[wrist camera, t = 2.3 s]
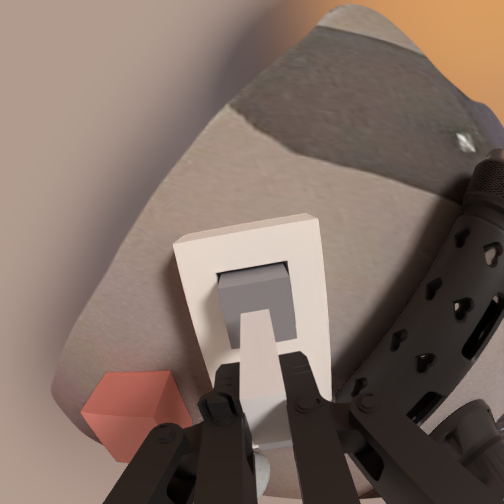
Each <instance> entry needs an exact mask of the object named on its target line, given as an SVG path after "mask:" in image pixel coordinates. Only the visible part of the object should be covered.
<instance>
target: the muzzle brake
mask: <svg viewBox="0 0 504 504" xmlns="http://www.w3.org/2000/svg"><path fill="white" fill-rule="evenodd" d="M463 210H464V215H461V216H459V217H458V218H457V219H456V220H455V222H454V224H453V226H452V229H451V231H450V233H449V234H448V236H447V238H446V240H445V242H444V244H443V246H442V247H441V249H440V251H439V253H438V255H437V256H436V258H435V260H434V262H433V263H432V265H431V267H430V269H429V270H428V272H427V274H426V276H425V277H424V279H423V280H422V282H421V284H420V285H419V287H418V288H417V290H416V291H415V293H414V294H413V296H412V297H411V299H410V300H409V302H408V303H407V305H406V306H405V308H404V309H403V311H402V312H401V314H400V315H399V316H398V318H397V319H396V321H395V322H394V324H393V325H392V326H391V328H390V329H389V330H388V332H387V333H386V334H385V336H384V337H383V338H382V339H381V341H380V342H379V343H378V345H377V346H376V347H375V348H374V350H373V351H372V352H371V353H370V355H369V356H368V357H367V358H366V360H365V361H364V362H363V363H362V364H361V366H360V367H359V368H358V369H357V370H356V371H355V373H354V374H353V375H352V376H351V377H350V378H349V379H348V380H347V382H346V383H345V384H344V385H343V386H342V387H341V388H340V389H339V390H338V392H337V393H336V396H335V399H336V403H350V402H351V401H352V399H353V398H354V397H355V396H357V395H358V394H361V393H364V392H377V393H380V394H382V395H384V396H385V397H386V398H387V399H388V400H390V401H391V402H392V403H393V404H394V405H395V406H396V407H397V408H398V409H399V410H401V411H402V412H403V413H404V414H405V415H406V416H407V417H408V418H409V419H411V420H412V421H413V422H414V423H415V424H416V425H417V426H418V427H420V426H421V425H422V424H423V423H424V422H425V421H426V420H427V419H428V418H429V417H430V416H431V415H432V414H433V413H434V412H435V411H436V409H437V408H438V407H439V406H440V405H441V404H442V403H443V402H444V401H445V399H446V398H447V397H448V396H449V395H450V394H451V392H452V391H453V390H454V389H455V388H456V386H457V385H458V384H459V383H460V381H461V380H462V379H463V378H464V376H465V375H466V374H467V372H468V371H469V370H470V368H471V367H472V366H473V364H474V363H475V362H476V360H477V359H478V357H479V356H480V354H481V353H482V352H483V350H484V349H485V347H486V346H487V344H488V343H489V341H490V339H491V338H492V336H493V335H494V333H495V331H496V330H497V328H498V326H499V325H500V323H501V321H502V320H503V318H504V148H499V149H494V150H492V151H490V152H489V153H488V154H487V156H486V159H485V160H483V161H482V162H480V163H479V164H478V165H477V166H476V167H475V170H474V172H473V175H472V177H471V180H470V182H469V185H468V187H467V190H466V192H465V194H464V196H463ZM455 303H458V304H459V308H458V309H457V310H456V311H455ZM424 355H425V356H424ZM421 356H424V357H421Z"/></svg>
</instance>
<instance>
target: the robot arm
mask: <svg viewBox="0 0 504 504" xmlns="http://www.w3.org/2000/svg"><path fill="white" fill-rule="evenodd" d="M197 405H198V407H199V410H200V412H201V414H202V416H203V419H204V421H202V422H201V423H199V424H197V425H194V426H191V427H187V428H183V429H182V428H181V427H180V426H179V425H178V424H175V423H163V424H159V425H157V426H156V427H154V428H153V429H152V430H151V431H150V432H149V434H148V435H147V437H146V438H145V440H144V441H143V443H142V445H141V446H140V448H139V449H138V451H137V452H136V454H135V455H134V457H133V458H132V460H131V461H130V463H129V464H128V466H127V468H126V469H125V471H124V472H123V474H122V475H121V477H120V478H119V480H118V482H117V483H116V484H115V486H114V487H113V489H112V490H111V492H110V493H109V495H108V496H107V498H106V499H105V501H104V502H103V504H258V503H257V485H256V468H255V455H254V452H253V448H252V441H253V444H254V445H259V444H267V443H274V442H280V441H286V440H292V444H293V450H294V457H295V462H296V467H297V473H298V479H299V484H300V490H301V496H302V501H303V504H361V503H360V500H359V497H358V494H357V491H356V488H355V485H354V482H353V479H352V476H351V473H350V470H349V467H348V464H347V461H346V458H345V455H344V453H348V455H349V457H350V458H351V459H352V460H353V462H354V463H355V464H356V466H357V467H358V468H359V470H360V471H361V472H362V473H363V475H364V476H365V477H366V479H367V480H368V481H369V482H370V484H371V485H372V486H373V487H374V489H375V490H376V491H377V492H378V494H379V495H380V496H381V497H382V499H383V500H384V501H385V502H386V504H504V439H503V438H502V437H501V435H500V434H499V433H498V430H497V427H496V424H495V421H494V418H493V415H492V413H491V409H490V407H489V406H488V405H487V404H486V402H485V401H484V400H481V399H478V400H474V401H472V402H470V403H468V404H466V405H464V406H463V407H461V408H460V409H458V410H457V411H456V412H454V413H453V414H452V415H451V416H449V417H448V418H447V419H446V420H445V421H444V422H443V423H441V424H440V425H439V426H438V427H437V428H436V429H435V430H434V431H433V433H432V434H431V435H430V436H428V435H427V434H426V433H425V432H424V431H423V430H422V429H421V428H419V427H418V426H417V425H416V424H415V423H414V422H413V421H412V420H411V419H409V418H408V417H407V416H406V415H405V414H404V413H403V412H402V411H401V410H399V409H398V408H397V407H396V406H395V405H394V404H393V403H392V402H391V401H390V400H388V399H387V398H386V397H385V396H384V395H382V394H380V393H377V392H364V393H361V394H358V395H357V396H355V397H354V398H353V399H352V401H351V402H350V403H334V402H330V401H328V400H326V399H324V398H323V397H322V396H321V394H320V392H319V389H318V387H317V384H316V381H315V378H314V375H313V372H312V369H311V367H310V364H309V361H308V358H307V356H306V355H305V354H303V353H302V352H301V351H296V352H291V353H286V354H280V355H278V352H277V347H276V342H275V337H274V332H273V327H272V322H271V317H270V312H269V309H265V310H259V311H254V312H248V313H241V322H240V362H235V363H227V364H221V365H220V366H219V368H218V369H217V371H216V373H215V381H214V388H213V391H211V392H209V393H207V394H205V395H204V396H203V397H201V398H200V399H199V402H198V404H197ZM193 502H194V503H193Z"/></svg>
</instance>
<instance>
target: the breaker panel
mask: <svg viewBox="0 0 504 504" xmlns="http://www.w3.org/2000/svg"><path fill="white" fill-rule="evenodd" d="M173 247H174V252H175V256H176V260H177V264H178V269H179V273H180V279H181V283H182V286H183V290H184V294H185V298H186V302H187V305H188V309H189V313H190V316H191V320H192V323H193V327H194V330H195V334H196V336H197V339H198V342H199V345H200V349H201V352H202V355H203V358H204V361H205V365H206V368H207V371H208V374H209V377H210V380H211V383H212V386H213V388H214V381H215V373H216V371H217V369H218V368H219V366H220V365H221V364H227V363H235V362H240V348H238V349H231V345H230V341H229V337H228V333H227V329H226V325H225V321H224V316H223V312H222V308H221V304H220V299H219V295H218V291H217V287H218V284H219V280H220V276H221V273H222V272H224V271H229V270H235V269H241V268H247V267H253V266H258V265H264V264H270V263H275V262H281V261H282V263H283V265H284V267H285V269H286V271H287V273H288V275H289V279H290V286H291V293H292V301H293V308H294V316H295V324H296V332H297V339H292V340H287V341H281V342H276V347H277V352H278V355H280V354H286V353H291V352H296V351H301V352H302V353H303V354H305V355H306V356H307V358H308V361H309V364H310V367H311V369H312V372H313V375H314V378H315V381H316V384H317V387H318V389H319V392H320V394H321V396H322V397H323V398H324V399H326V400H328V401H330V402H332V391H331V358H330V337H329V321H328V307H327V295H326V284H325V273H324V264H323V254H322V246H321V237H320V230H319V222H318V218H316V217H314V216H311V215H309V214H307V213H303V214H297V215H291V216H285V217H279V218H273V219H267V220H261V221H255V222H249V223H244V224H238V225H233V226H227V227H222V228H216V229H211V230H206V231H200V232H195V233H190V234H185V235H183V236H182V237H181V238H180V239H179V240H177V241H176V242H175V243H174V244H173ZM252 448H259V446H258V445H254V444H253V441H252Z"/></svg>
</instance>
